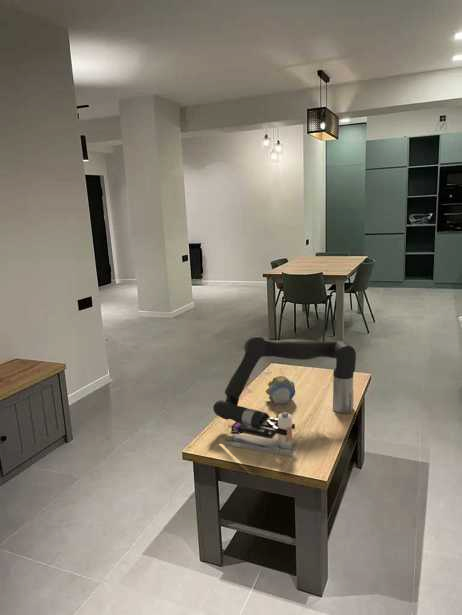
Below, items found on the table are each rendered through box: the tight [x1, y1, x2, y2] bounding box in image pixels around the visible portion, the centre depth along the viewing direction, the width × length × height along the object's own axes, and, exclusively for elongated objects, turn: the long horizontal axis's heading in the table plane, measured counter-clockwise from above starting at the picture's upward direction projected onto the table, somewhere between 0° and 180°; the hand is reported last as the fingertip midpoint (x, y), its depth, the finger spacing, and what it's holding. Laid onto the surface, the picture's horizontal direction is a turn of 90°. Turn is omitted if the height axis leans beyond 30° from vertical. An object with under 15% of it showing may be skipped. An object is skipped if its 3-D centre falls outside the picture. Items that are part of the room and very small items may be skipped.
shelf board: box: [226, 433, 298, 458], centre depth 190 cm, size 28×10×1 cm, turn 68°
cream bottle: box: [277, 411, 293, 450], centre depth 185 cm, size 6×6×15 cm
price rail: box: [224, 438, 293, 457], centre depth 186 cm, size 28×1×2 cm, turn 68°
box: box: [230, 421, 275, 438], centre depth 206 cm, size 14×4×20 cm
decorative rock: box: [265, 375, 296, 405], centre depth 232 cm, size 14×16×15 cm
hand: (290, 429), depth 183 cm, fingers closed on cream bottle, 5 cm apart
